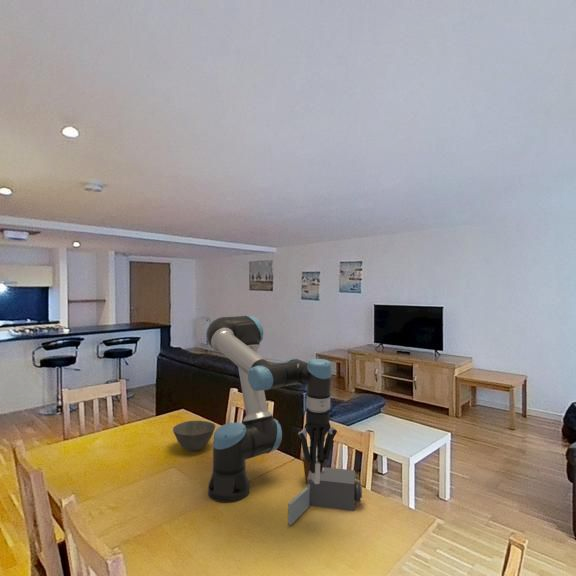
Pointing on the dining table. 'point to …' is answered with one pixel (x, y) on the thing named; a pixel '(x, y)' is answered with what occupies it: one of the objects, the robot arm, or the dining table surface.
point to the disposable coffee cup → (308, 465)
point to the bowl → (194, 434)
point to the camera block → (335, 489)
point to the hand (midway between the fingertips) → (315, 481)
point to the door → (298, 505)
